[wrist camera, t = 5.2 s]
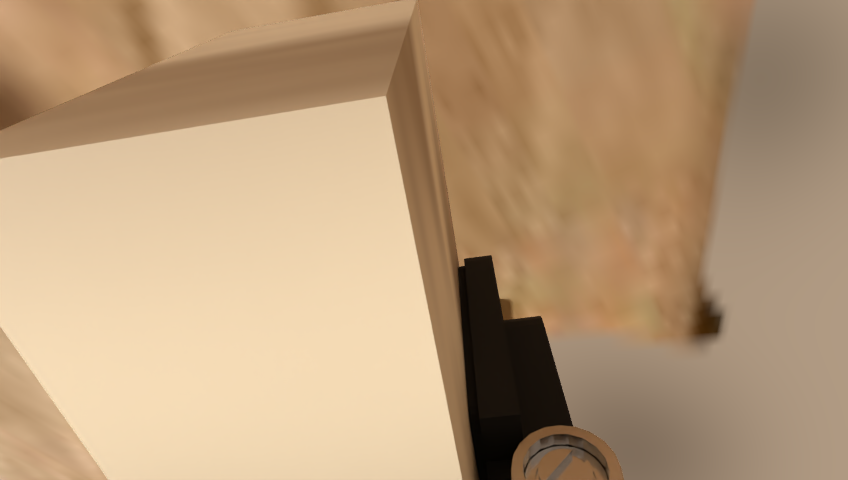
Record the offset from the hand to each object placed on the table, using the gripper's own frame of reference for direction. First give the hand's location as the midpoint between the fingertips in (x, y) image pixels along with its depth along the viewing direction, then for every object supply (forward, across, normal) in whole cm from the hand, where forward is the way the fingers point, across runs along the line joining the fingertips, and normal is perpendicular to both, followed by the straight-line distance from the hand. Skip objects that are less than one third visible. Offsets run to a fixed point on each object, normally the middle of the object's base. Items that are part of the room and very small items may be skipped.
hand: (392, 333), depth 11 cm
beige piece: (0, 0, +2) cm, 2 cm away
